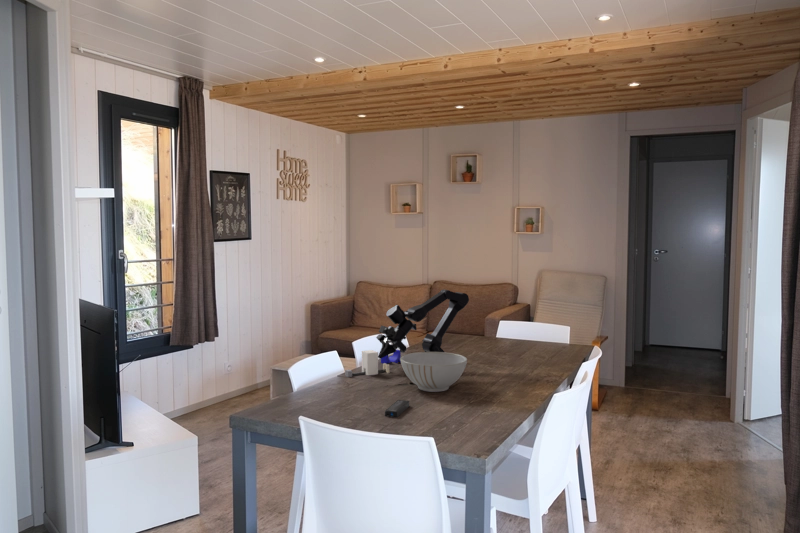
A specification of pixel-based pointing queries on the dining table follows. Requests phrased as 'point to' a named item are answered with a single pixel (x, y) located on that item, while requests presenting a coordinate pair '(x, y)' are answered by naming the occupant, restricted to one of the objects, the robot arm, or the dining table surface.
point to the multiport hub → (397, 408)
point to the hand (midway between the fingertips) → (379, 357)
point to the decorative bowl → (433, 369)
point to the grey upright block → (370, 362)
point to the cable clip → (392, 358)
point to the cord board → (350, 374)
